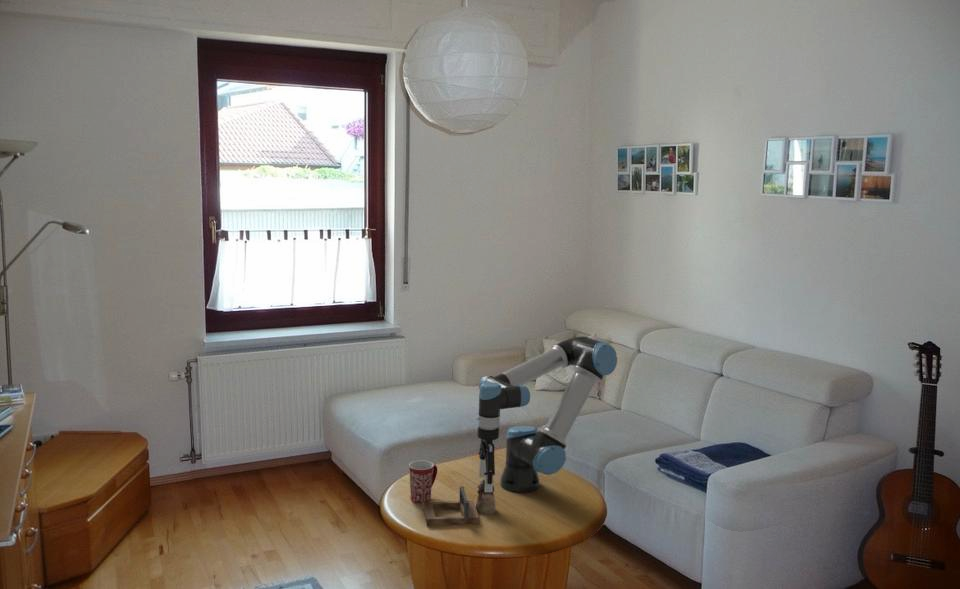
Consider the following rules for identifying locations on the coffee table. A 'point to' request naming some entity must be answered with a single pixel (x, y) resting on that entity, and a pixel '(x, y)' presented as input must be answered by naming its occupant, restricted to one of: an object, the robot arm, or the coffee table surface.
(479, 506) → the figurine
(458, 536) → the coffee table surface
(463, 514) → the wooden stand
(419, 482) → the mug
